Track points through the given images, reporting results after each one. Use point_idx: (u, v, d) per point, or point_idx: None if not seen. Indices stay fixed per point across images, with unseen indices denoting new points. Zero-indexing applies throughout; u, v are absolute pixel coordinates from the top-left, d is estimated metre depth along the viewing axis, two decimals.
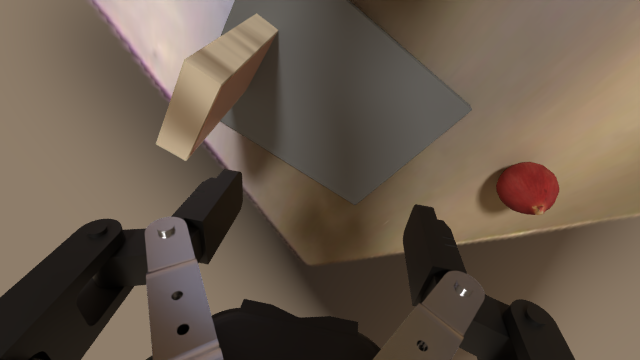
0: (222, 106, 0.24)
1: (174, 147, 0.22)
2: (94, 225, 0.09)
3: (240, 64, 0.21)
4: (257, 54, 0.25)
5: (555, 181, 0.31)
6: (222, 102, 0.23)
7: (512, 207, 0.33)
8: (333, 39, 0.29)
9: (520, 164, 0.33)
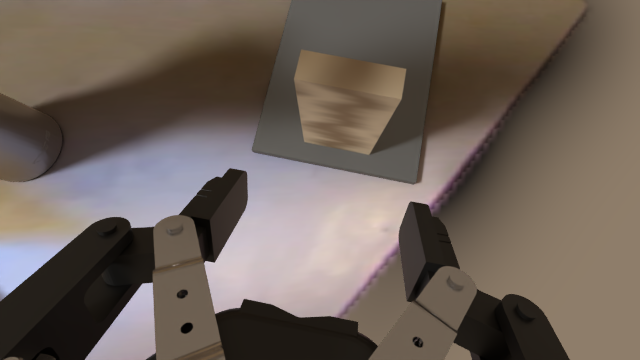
0: None
1: (394, 81, 0.21)
2: (104, 223, 0.09)
3: None
4: None
5: None
6: None
7: None
8: None
9: None
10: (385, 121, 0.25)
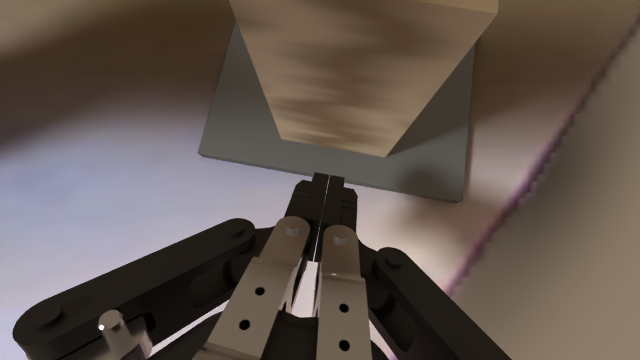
0: None
1: None
2: (236, 223, 0.10)
3: None
4: None
5: None
6: None
7: None
8: None
9: None
10: (431, 88, 0.12)
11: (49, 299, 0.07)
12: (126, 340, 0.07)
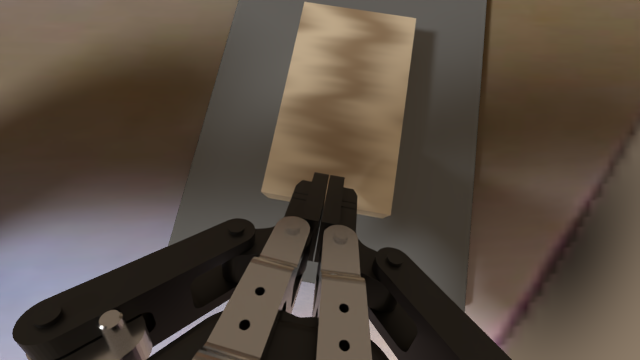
0: None
1: None
2: (236, 223, 0.10)
3: None
4: None
5: None
6: None
7: None
8: (247, 129, 0.21)
9: None
10: (405, 68, 0.19)
11: (48, 299, 0.07)
12: (126, 340, 0.07)
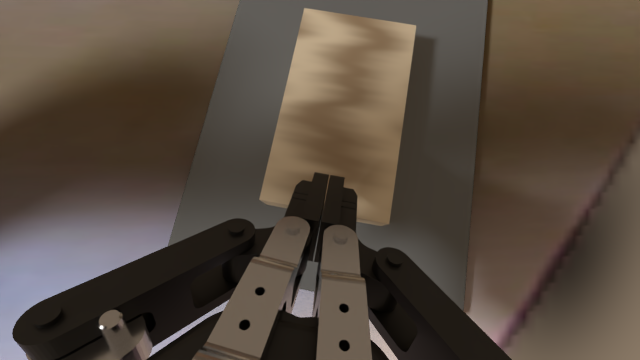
0: None
1: None
2: (236, 223, 0.10)
3: None
4: None
5: None
6: None
7: None
8: (246, 135, 0.21)
9: None
10: (405, 76, 0.19)
11: (48, 299, 0.07)
12: (126, 340, 0.07)
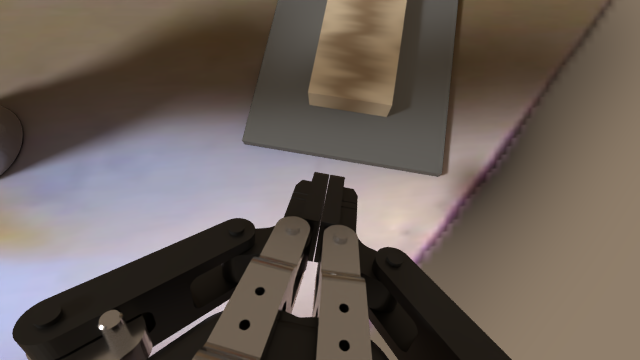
0: None
1: None
2: (236, 223, 0.10)
3: None
4: None
5: None
6: None
7: None
8: (293, 61, 0.31)
9: None
10: (401, 15, 0.29)
11: (48, 299, 0.07)
12: (126, 340, 0.07)
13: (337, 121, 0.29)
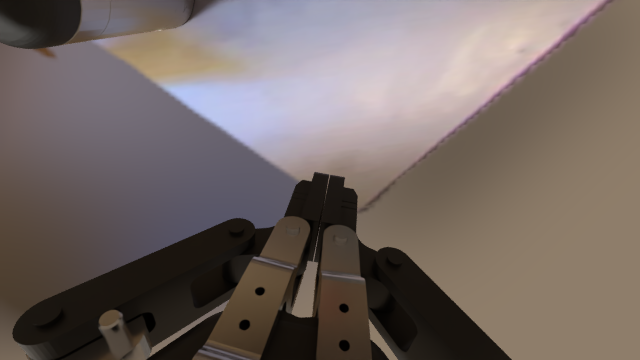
0: None
1: None
2: (236, 223, 0.10)
3: None
4: None
5: None
6: None
7: None
8: None
9: None
10: None
11: (48, 299, 0.07)
12: (126, 340, 0.07)
13: None
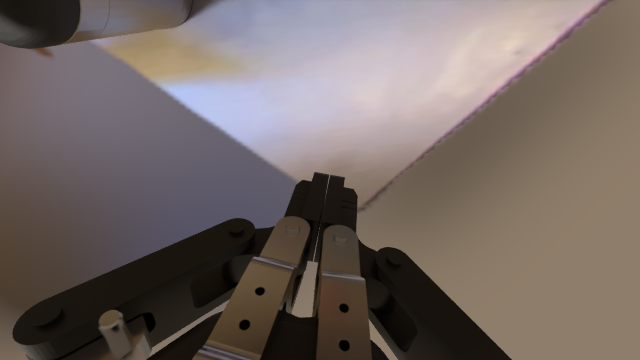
0: None
1: None
2: (236, 223, 0.10)
3: None
4: None
5: None
6: None
7: None
8: None
9: None
10: None
11: (48, 299, 0.07)
12: (126, 340, 0.07)
13: None
